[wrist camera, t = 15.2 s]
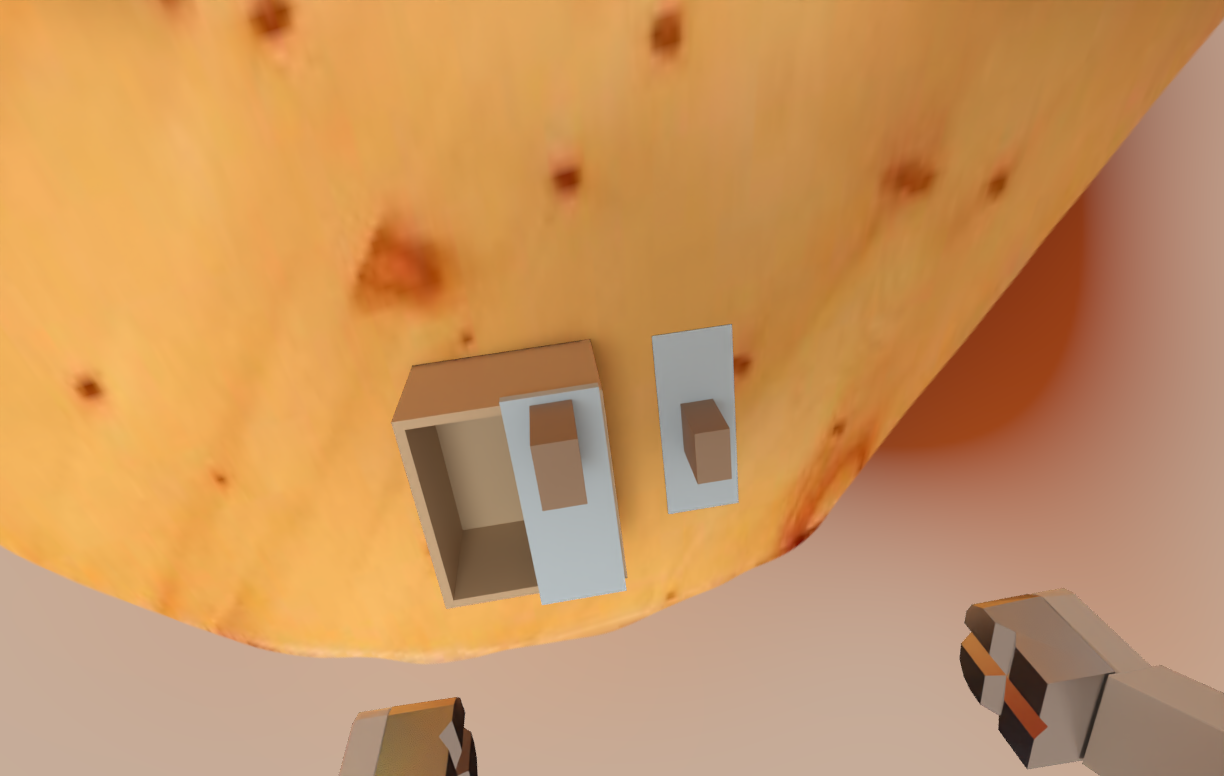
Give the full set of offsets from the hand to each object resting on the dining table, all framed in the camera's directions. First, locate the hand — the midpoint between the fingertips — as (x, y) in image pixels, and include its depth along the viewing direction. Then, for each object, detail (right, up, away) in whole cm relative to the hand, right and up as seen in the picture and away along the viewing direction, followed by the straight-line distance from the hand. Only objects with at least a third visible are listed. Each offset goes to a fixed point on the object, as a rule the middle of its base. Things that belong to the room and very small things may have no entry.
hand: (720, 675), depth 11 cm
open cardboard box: (-8, +1, +38) cm, 39 cm away
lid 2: (+5, +2, +39) cm, 40 cm away
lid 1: (-4, -2, +31) cm, 31 cm away
